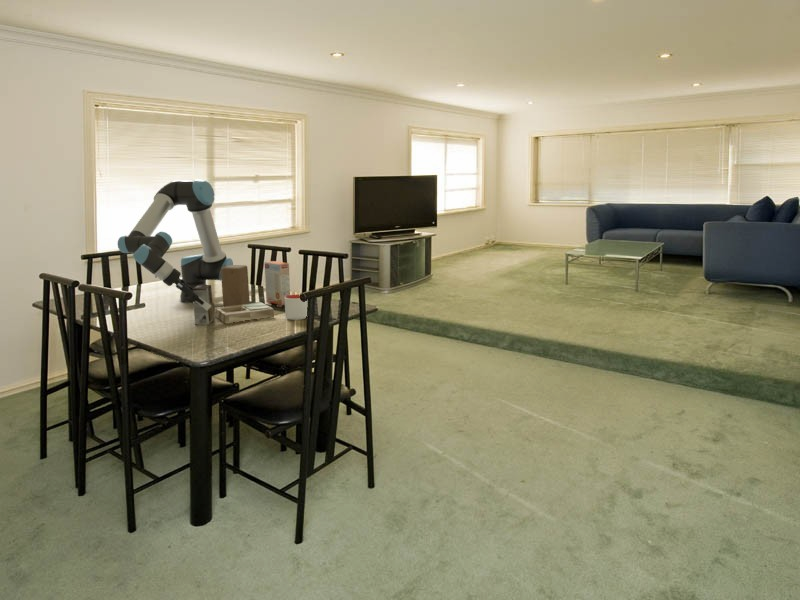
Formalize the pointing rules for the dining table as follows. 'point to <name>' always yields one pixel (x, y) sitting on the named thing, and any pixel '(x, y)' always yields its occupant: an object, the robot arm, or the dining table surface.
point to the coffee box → (199, 312)
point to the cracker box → (277, 282)
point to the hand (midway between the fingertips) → (207, 305)
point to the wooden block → (235, 285)
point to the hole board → (244, 312)
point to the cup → (295, 307)
